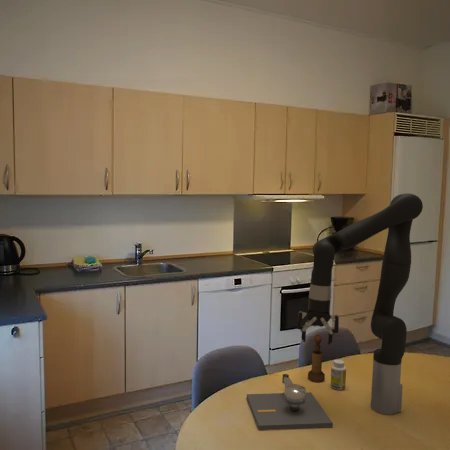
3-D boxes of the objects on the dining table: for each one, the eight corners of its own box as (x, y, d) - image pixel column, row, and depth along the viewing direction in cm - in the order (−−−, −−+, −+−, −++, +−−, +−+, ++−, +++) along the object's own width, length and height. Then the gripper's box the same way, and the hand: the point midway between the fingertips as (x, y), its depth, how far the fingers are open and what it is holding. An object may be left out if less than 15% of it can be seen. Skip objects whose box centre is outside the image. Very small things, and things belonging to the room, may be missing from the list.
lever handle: (307, 414, 148) (308, 392, 148) (287, 414, 148) (287, 393, 147) (293, 391, 165) (294, 372, 165) (274, 391, 164) (275, 372, 164)
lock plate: (310, 396, 166) (311, 391, 166) (332, 427, 144) (332, 422, 144) (246, 398, 163) (246, 393, 163) (258, 430, 141) (258, 425, 141)
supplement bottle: (342, 384, 177) (343, 358, 177) (347, 390, 172) (348, 364, 171) (328, 384, 177) (329, 358, 176) (333, 390, 171) (334, 364, 171)
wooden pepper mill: (312, 383, 177) (314, 338, 176) (305, 376, 184) (306, 333, 182) (327, 381, 179) (329, 337, 178) (319, 375, 185) (321, 332, 184)
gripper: (339, 297, 161) (335, 341, 162) (299, 293, 163) (295, 337, 164) (341, 301, 154) (337, 348, 155) (299, 297, 156) (296, 343, 157)
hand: (316, 342), depth 159 cm, fingers open, 8 cm apart
